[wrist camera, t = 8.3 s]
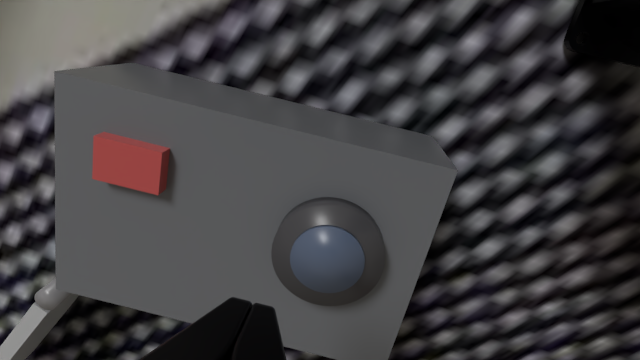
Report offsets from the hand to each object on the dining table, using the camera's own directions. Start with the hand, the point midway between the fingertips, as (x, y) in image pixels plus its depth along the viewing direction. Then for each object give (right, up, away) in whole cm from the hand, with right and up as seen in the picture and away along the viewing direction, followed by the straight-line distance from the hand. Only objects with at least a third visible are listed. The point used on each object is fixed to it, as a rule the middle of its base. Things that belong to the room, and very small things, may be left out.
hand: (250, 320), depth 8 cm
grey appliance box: (-1, +2, +12) cm, 12 cm away
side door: (-13, -4, +15) cm, 21 cm away
